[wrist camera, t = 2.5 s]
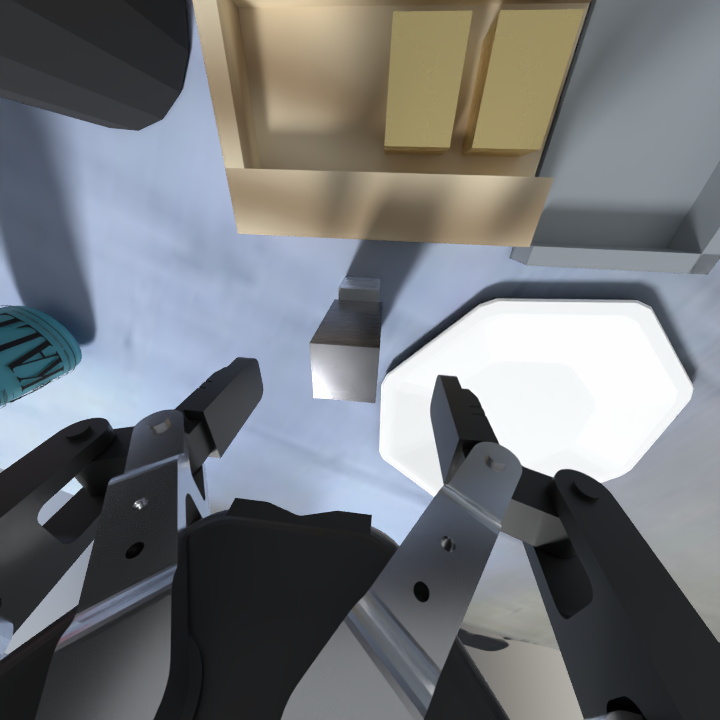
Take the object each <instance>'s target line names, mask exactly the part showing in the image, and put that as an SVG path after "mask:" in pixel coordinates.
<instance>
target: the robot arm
mask: <svg viewBox="0 0 720 720" xmlns="http://www.w3.org/2000/svg"><path fill="white" fill-rule="evenodd" d="M262 394H263V384H262V379H261V374H260V369H259V364H258V361H257V360H256V359H254V358H243V357H238V358H236V359H235V360H234V361H233V362H232V363H231V364H230V365H229V366H228V367H224V368H223V369H221V370H219V371H217V372H215V373H214V374H212V375H211V376H210V377H209V378H208V379H207V380H206V382H204V383H203V384H202V385H201V386H199V388H197V389H196V390H195V391H194V392H193V393H192V394H191V395H190V396H189V397H187V398H186V399H185V400H184V401H183V402H182V403H181V404H180V405H179V406H178V407H177V408H176V409H174V410H163V411H159V412H156V413H154V414H151V415H149V416H147V417H145V418H144V419H142V420H141V421H140V422H139V423H138V424H137V425H136V426H134V427H126V428H119V429H113V428H112V427H111V425H110V424H109V422H108V421H107V420H106V419H104V418H91V419H86V420H83V421H80V422H77V423H74V424H72V425H70V426H68V427H66V428H64V429H62V430H61V431H59V432H58V433H56V434H55V435H53V436H52V437H51V438H49V439H48V440H46V441H45V442H43V443H42V444H41V445H39V446H38V447H36V448H35V449H34V450H32V451H31V452H29V453H28V454H27V455H25V456H24V457H22V458H21V459H19V460H18V461H17V462H15V463H14V464H12V465H11V466H10V467H8V468H7V469H5V470H4V471H3V472H1V473H0V720H510V719H509V718H508V716H507V714H506V713H505V711H504V709H503V708H502V706H501V705H500V703H499V701H498V700H497V698H496V697H495V695H494V693H493V692H492V690H491V689H490V687H489V685H488V684H487V682H486V681H485V679H484V677H483V676H482V674H481V673H480V671H479V669H478V668H477V666H476V665H475V663H474V661H473V660H472V658H471V657H470V655H469V653H468V652H467V650H466V649H465V647H464V645H463V644H462V642H461V641H460V639H459V637H458V636H457V633H458V630H459V628H460V626H461V623H462V621H463V618H464V616H465V614H466V611H467V609H468V606H469V604H470V602H471V599H472V597H473V594H474V592H475V590H476V587H477V585H478V582H479V580H480V578H481V575H482V573H483V570H484V568H485V566H486V563H487V561H488V558H489V556H490V554H491V551H492V549H493V547H494V544H495V542H496V539H497V537H498V534H499V532H500V531H501V532H504V533H506V534H508V535H510V536H512V537H515V538H517V539H519V540H521V541H522V542H523V544H524V547H525V550H526V553H527V556H528V559H529V562H530V565H531V567H532V570H533V573H534V576H535V579H536V582H537V585H538V588H539V591H540V593H541V596H542V599H543V602H544V605H545V608H546V611H547V614H548V617H549V619H550V622H551V625H552V628H553V631H554V634H555V637H556V640H557V642H558V645H559V648H560V651H561V654H562V657H563V660H564V662H565V665H566V668H567V671H568V674H569V677H570V680H571V683H572V686H573V689H574V691H575V694H576V697H577V700H578V703H579V706H580V709H581V712H582V715H583V717H584V720H720V644H719V642H718V641H717V640H716V638H715V637H714V635H713V634H712V633H711V631H710V630H709V628H708V627H707V626H706V624H705V623H704V622H703V620H702V619H701V617H700V616H699V615H698V613H697V612H696V610H695V609H694V608H693V606H692V605H691V604H690V602H689V601H688V599H687V598H686V597H685V595H684V594H683V592H682V591H681V590H680V588H679V587H678V585H677V584H676V583H675V581H674V580H673V579H672V577H671V576H670V574H669V573H668V572H667V570H666V569H665V567H664V566H663V565H662V563H661V562H660V560H659V559H658V558H657V556H656V555H655V554H654V552H653V551H652V549H651V548H650V547H649V545H648V544H647V542H646V541H645V540H644V538H643V537H642V536H641V534H640V533H639V531H638V530H637V529H636V527H635V526H634V524H633V523H632V522H631V520H630V519H629V517H628V516H627V515H626V513H625V512H624V511H623V509H622V508H621V506H620V505H619V504H618V502H617V501H616V499H615V498H614V497H613V495H612V494H611V493H610V492H609V491H608V490H607V489H606V488H605V487H604V486H603V485H602V484H601V483H599V482H598V481H597V480H595V479H594V478H592V477H590V476H588V475H586V474H584V473H582V472H579V471H576V470H572V469H562V470H559V471H557V473H556V474H555V475H554V477H551V476H548V475H545V474H542V473H540V472H537V471H534V470H531V469H528V468H526V467H524V466H522V465H521V463H520V461H519V459H518V458H517V457H516V456H515V455H514V454H513V453H512V452H511V451H510V450H508V449H507V448H505V447H504V446H501V445H500V444H499V442H498V440H497V438H496V436H495V433H494V431H493V429H492V427H491V425H490V423H489V421H488V419H487V416H485V412H484V410H483V408H482V406H481V404H480V402H479V399H478V397H477V396H476V395H475V394H473V393H472V392H471V391H470V390H469V389H463V388H461V385H460V383H459V380H458V378H457V376H448V375H438V376H437V378H436V382H435V386H434V391H433V395H432V399H431V404H430V418H431V423H432V428H433V433H434V438H435V443H436V448H437V453H438V458H439V463H440V469H441V474H442V479H443V484H444V485H443V486H442V487H441V489H440V490H439V491H438V493H437V494H436V496H435V497H434V498H433V500H432V501H431V503H430V504H429V506H428V507H427V508H426V510H425V511H424V513H423V514H422V515H421V517H420V518H419V520H418V521H417V523H416V524H415V525H414V527H413V528H412V530H411V531H410V532H409V534H408V535H407V537H406V538H405V540H404V541H403V542H402V544H401V545H400V546H399V545H398V544H397V543H396V542H395V541H394V540H393V539H391V538H390V537H389V536H388V535H386V534H385V533H383V532H382V531H380V530H378V529H376V528H374V527H372V526H371V517H372V515H367V514H359V513H351V512H343V511H332V512H325V513H318V514H311V515H304V516H299V515H296V514H293V513H291V512H289V511H287V510H284V509H282V508H280V507H278V506H276V505H273V504H271V503H269V502H263V501H255V500H248V499H240V498H235V500H234V501H233V503H232V505H231V507H230V509H229V510H224V511H221V512H217V513H214V514H211V512H210V506H209V497H208V487H207V477H206V468H205V464H204V461H205V460H206V459H207V457H216V458H221V457H222V455H223V454H224V452H225V451H226V449H227V448H228V446H229V445H230V444H231V442H232V441H233V439H234V438H235V436H236V435H237V433H238V432H239V430H240V429H241V428H242V426H243V425H244V423H245V422H246V420H247V419H248V417H249V416H250V414H251V413H252V411H253V410H254V409H255V407H256V406H257V404H258V403H259V401H260V400H261V398H262ZM74 477H75V478H76V479H77V480H78V481H79V483H80V484H81V485H82V486H83V488H82V489H80V490H79V491H78V492H77V493H76V494H75V495H74V496H73V497H72V498H71V499H70V500H69V501H68V502H67V503H66V504H65V505H64V506H63V507H62V508H61V509H60V510H59V511H58V512H56V513H55V514H54V515H53V516H52V517H51V518H50V519H49V520H48V521H47V522H46V523H45V524H44V525H43V526H41V525H40V524H39V523H38V521H37V516H38V513H39V511H40V509H41V508H42V506H43V505H44V504H45V503H46V502H47V501H48V500H49V499H50V498H51V497H53V496H54V495H55V494H56V493H57V492H58V491H59V490H60V489H62V488H63V487H64V486H65V485H66V484H67V483H68V482H69V481H70V480H72V479H73V478H74ZM93 540H94V544H93V548H92V552H91V556H90V560H89V564H88V568H87V572H86V576H85V580H84V584H83V588H82V592H81V596H80V600H79V604H78V605H77V606H76V607H74V608H73V609H72V610H70V611H69V612H67V613H66V614H65V615H63V616H62V617H60V618H59V619H58V620H56V621H55V622H53V623H52V624H51V625H49V626H48V627H46V628H45V629H44V630H42V631H41V632H39V633H38V634H36V635H35V636H34V637H32V638H31V639H30V640H28V641H27V642H25V643H24V644H22V645H21V646H20V647H18V648H17V649H15V650H14V651H13V652H11V653H10V654H8V655H7V654H5V653H4V652H5V650H6V649H7V647H8V645H9V643H10V640H11V638H12V636H13V634H14V633H15V632H16V631H17V630H18V629H19V627H20V626H21V625H22V624H23V623H24V621H25V620H26V619H27V618H28V617H29V616H30V614H31V613H32V612H33V611H34V610H35V608H36V607H37V606H38V605H39V604H40V602H41V601H42V600H43V599H44V598H45V596H46V595H47V594H48V593H49V592H50V591H51V589H52V588H53V587H54V586H55V585H56V584H57V582H58V581H59V580H60V579H61V577H62V576H63V575H64V574H65V573H66V571H67V570H68V569H69V568H70V567H71V566H72V565H73V563H74V562H75V561H76V560H77V559H78V557H79V556H80V555H81V554H82V553H83V552H84V550H85V549H86V548H87V547H88V546H89V545H90V543H91V542H92V541H93Z"/></svg>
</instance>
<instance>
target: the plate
mask: <svg viewBox="0 0 720 720" xmlns="http://www.w3.org/2000/svg"><path fill="white" fill-rule="evenodd" d="M438 375H448V376H457V378H458V380H459V383H460V385H461V388H463V389H469V390H470V391H471V392H472V393H473V394H475V395H476V396H477V397H478V399H479V402H480V404H481V406H482V408H483V410H484V412H485V416H487V419H488V421H489V423H490V425H491V427H492V429H493V431H494V433H495V436H496V438H497V440H498V442H499V444H500V445H501V446H504V447H505V448H507V449H508V450H510V451H511V452H512V453H513V454H514V455H515V456H516V457H517V458H518V459H519V461H520V463H521V465H522V466H524V467H526V468H528V469H531V470H534V471H537V472H540V473H542V474H545V475H548V476H551V477H554V475H555V474H556V473H557V471H559V470H562V469H572V470H576V471H579V472H582V473H584V474H586V475H588V476H590V477H592V478H594V479H595V480H597V481H598V482H599V483H602V482H605V481H608V480H611V479H614V478H617V477H620V476H622V475H623V474H625V473H626V472H628V471H630V470H631V469H632V468H633V467H634V466H635V464H636V463H637V462H638V461H639V460H640V459H641V457H642V456H643V455H644V454H645V453H646V451H647V450H648V449H649V448H650V447H651V446H652V444H653V443H654V442H655V441H656V440H657V438H658V437H659V436H660V435H661V434H662V433H663V431H664V430H665V429H666V428H667V427H668V425H669V424H670V423H671V422H672V421H673V420H674V418H675V417H676V416H677V415H678V414H679V412H680V411H681V410H682V409H683V408H684V407H685V405H686V404H687V403H688V402H689V401H690V399H691V396H692V392H693V388H694V386H693V384H692V382H691V380H690V378H689V377H688V375H687V373H686V371H685V369H684V367H683V365H682V363H681V362H680V360H679V358H678V356H677V354H676V352H675V350H674V348H673V347H672V345H671V343H670V341H669V339H668V337H667V335H666V333H665V332H664V330H663V328H662V326H661V324H660V322H659V320H658V318H657V317H656V315H655V313H654V311H653V309H652V307H651V306H648V305H646V304H644V303H642V302H640V301H638V300H635V299H566V298H494V299H491V300H488V301H485V302H482V303H479V304H478V305H476V306H475V307H474V308H472V309H471V310H470V311H468V312H467V313H466V314H464V315H463V316H462V317H460V318H459V319H458V320H456V321H455V322H454V323H453V324H451V325H450V326H449V327H447V328H446V329H445V330H443V331H442V332H441V333H439V334H438V335H437V336H435V337H434V338H433V339H431V340H430V341H429V342H427V343H426V344H425V345H423V346H422V347H421V348H420V349H418V350H417V351H416V352H414V353H413V354H412V355H410V356H409V357H408V358H406V359H405V360H404V361H402V362H401V363H400V364H398V365H397V366H396V367H394V368H393V369H392V370H391V371H389V372H388V373H387V374H386V376H385V378H384V380H383V381H382V384H381V412H380V442H379V452H380V454H381V456H382V458H383V459H384V460H385V461H387V462H388V463H389V464H391V465H392V466H394V467H395V468H396V469H398V470H399V471H400V472H402V473H403V474H404V475H406V476H407V477H408V478H410V479H411V480H412V481H414V482H415V483H416V484H418V485H419V486H420V487H422V488H423V489H424V490H426V491H427V492H428V493H430V494H431V495H432V496H434V497H435V496H436V494H437V493H438V491H439V490H440V489H441V487H442V486H443V485H444V484H443V479H442V474H441V469H440V463H439V458H438V453H437V448H436V443H435V438H434V433H433V428H432V423H431V418H430V404H431V399H432V395H433V391H434V386H435V382H436V378H437V376H438Z"/></svg>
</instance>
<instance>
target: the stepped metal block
mask: <svg viewBox="0 0 720 720" xmlns="http://www.w3.org/2000/svg"><path fill="white" fill-rule="evenodd" d="M380 279H381V278H366V277H349V276H345V278H344V280H343V281H342V283H341V285H340V286H339V300H336V299H335V300H334V302H333V303H332V305H331V307H330V309H329V310H328V312H327V314H326V315H325V317H324V319H323V321H322V322H321V324H320V326H319V328H318V329H317V331H316V333H315V334H314V336H313V338H312V340H311V341H310V356H311V368H312V381H313V393H314V398H323V399H334V400H346V401H357V402H368V403H375V399H376V387H377V375H378V363H379V351H380V336H381V319H382V302H379V293H380Z"/></svg>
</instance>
